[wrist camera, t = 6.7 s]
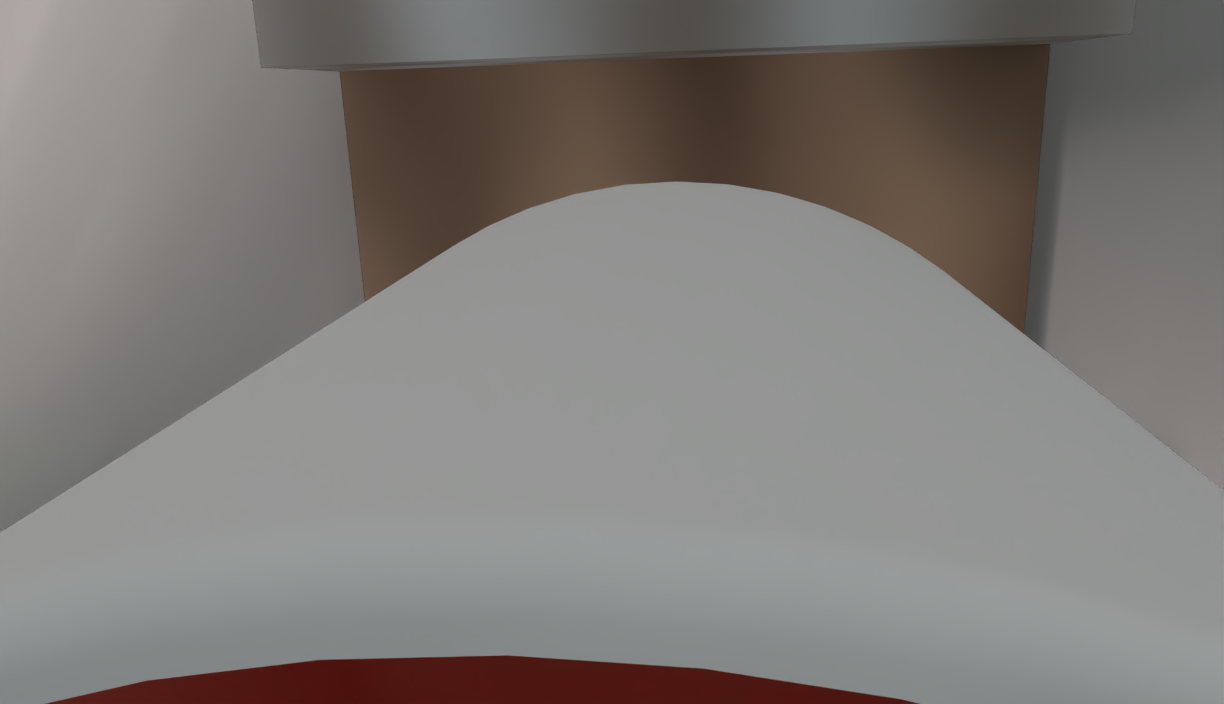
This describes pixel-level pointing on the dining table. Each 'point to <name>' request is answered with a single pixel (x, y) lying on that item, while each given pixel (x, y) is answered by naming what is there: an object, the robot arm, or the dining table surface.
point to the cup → (636, 494)
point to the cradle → (694, 112)
